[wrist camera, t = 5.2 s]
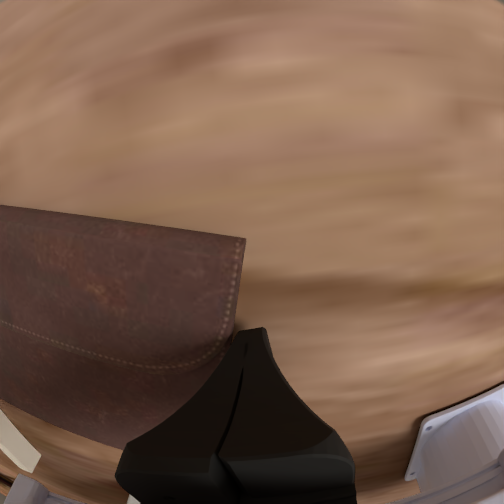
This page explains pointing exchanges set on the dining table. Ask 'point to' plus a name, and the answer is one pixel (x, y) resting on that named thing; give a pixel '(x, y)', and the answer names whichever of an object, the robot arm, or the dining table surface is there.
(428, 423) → the robot arm
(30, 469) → the bar
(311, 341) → the dining table surface
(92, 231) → the notebook
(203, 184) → the dining table surface
